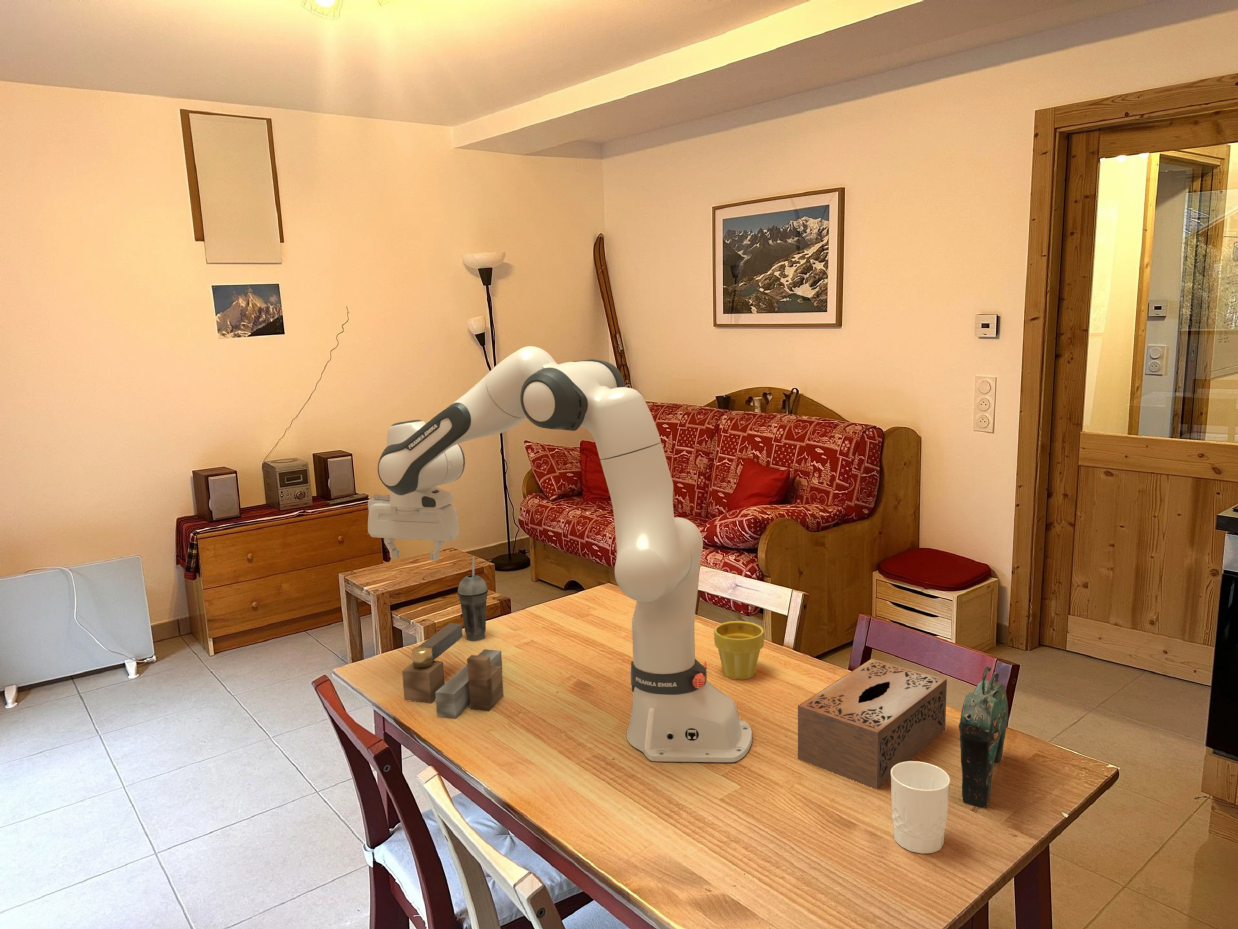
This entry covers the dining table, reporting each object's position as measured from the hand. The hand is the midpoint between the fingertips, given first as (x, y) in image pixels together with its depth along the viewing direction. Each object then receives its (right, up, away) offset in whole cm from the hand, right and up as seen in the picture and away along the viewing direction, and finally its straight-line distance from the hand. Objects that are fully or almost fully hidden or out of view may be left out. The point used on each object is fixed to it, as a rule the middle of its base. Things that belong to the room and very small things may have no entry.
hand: (414, 558), depth 182 cm
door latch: (+11, -27, -8) cm, 30 cm away
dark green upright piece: (+102, -30, -47) cm, 116 cm away
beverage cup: (+9, -22, +23) cm, 33 cm away
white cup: (+87, -34, -61) cm, 111 cm away
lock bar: (+6, -19, -4) cm, 20 cm away
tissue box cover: (+88, -29, -34) cm, 99 cm away
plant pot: (+69, -24, -3) cm, 74 cm away
